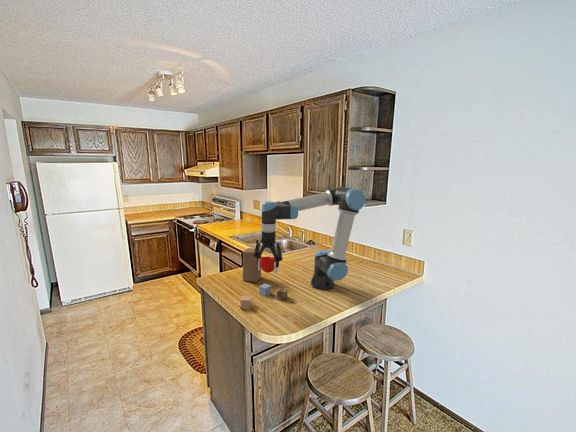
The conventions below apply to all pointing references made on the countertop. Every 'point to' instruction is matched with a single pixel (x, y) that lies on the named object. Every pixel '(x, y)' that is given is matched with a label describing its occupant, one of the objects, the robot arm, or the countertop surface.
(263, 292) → the slate-blue cube
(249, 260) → the wooden block
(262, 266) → the apple
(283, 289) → the walnut cube
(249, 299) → the terracotta cube
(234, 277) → the countertop surface
